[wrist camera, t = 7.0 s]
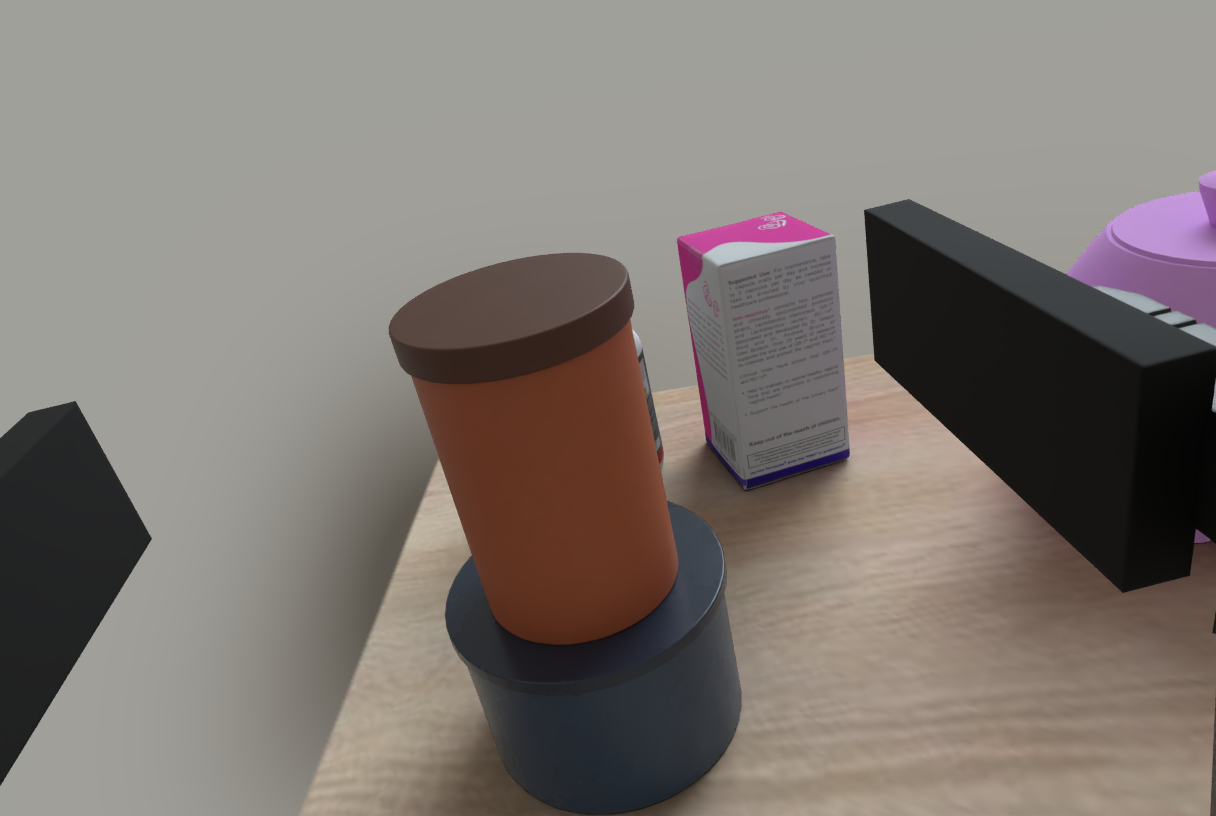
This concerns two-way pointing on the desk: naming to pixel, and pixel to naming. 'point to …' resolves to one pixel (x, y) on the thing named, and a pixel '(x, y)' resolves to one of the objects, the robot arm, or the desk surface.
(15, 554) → the robot arm
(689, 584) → the tin
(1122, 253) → the teapot
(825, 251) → the supplement box
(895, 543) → the desk surface
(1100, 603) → the desk surface
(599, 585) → the canister
